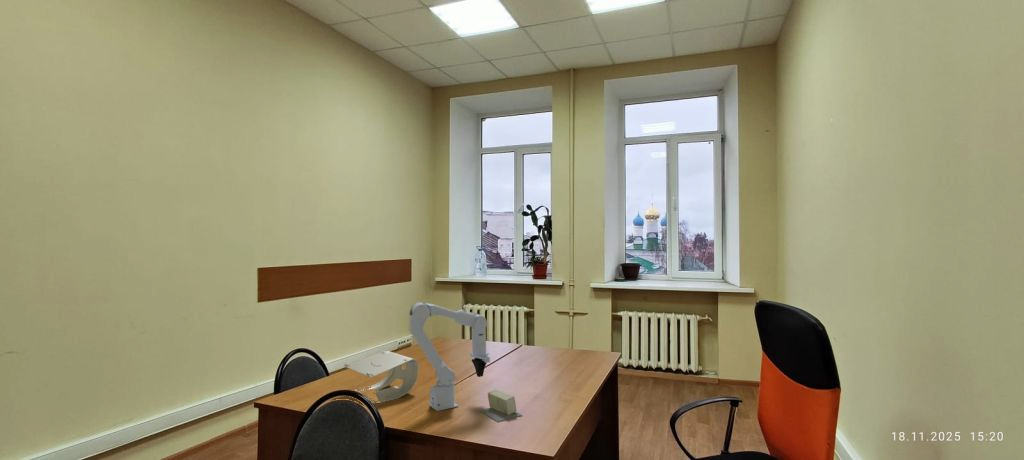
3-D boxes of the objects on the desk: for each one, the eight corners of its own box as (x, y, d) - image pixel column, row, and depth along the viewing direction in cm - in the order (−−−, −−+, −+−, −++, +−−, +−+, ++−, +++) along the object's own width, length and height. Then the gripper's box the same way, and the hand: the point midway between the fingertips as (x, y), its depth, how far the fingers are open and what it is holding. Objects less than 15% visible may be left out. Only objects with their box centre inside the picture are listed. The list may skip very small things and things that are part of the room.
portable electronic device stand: (419, 393, 205) (419, 358, 205) (370, 406, 188) (370, 368, 189) (390, 381, 223) (390, 349, 223) (343, 392, 206) (343, 358, 207)
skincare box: (487, 392, 185) (505, 400, 175) (495, 388, 187) (514, 395, 178) (489, 407, 185) (508, 415, 176) (498, 403, 188) (517, 411, 178)
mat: (497, 422, 170) (497, 421, 170) (479, 411, 182) (479, 410, 182) (522, 415, 176) (522, 415, 176) (502, 405, 188) (502, 404, 188)
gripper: (495, 345, 190) (496, 378, 189) (479, 339, 202) (480, 370, 202) (480, 347, 186) (481, 381, 186) (465, 341, 198) (465, 373, 198)
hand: (480, 376), depth 193 cm, fingers closed
